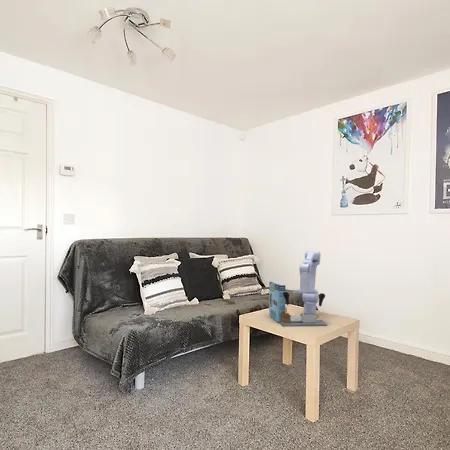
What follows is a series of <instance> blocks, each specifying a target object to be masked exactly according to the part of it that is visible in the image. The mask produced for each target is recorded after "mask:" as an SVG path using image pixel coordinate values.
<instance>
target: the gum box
mask: <svg viewBox="0 0 450 450" xmlns="http://www.w3.org/2000/svg"><path fill="white" fill-rule="evenodd" d="M286 286H287V285H286V284H282V283H280V282H277V281H269V288H268V290H269V291H268V292H269V294H268V295H269V296H268V299H269V300H268V302H269V303H268V304H269V305H268V307H269V308H268V311H269V312H268V315H269V317H270V316H271V318H272V319H273V320H274V321H276V322H277V323H278V324H280V321H281V313H284V308H286V299H285V297H284V294H283V293H284V292H286Z"/></svg>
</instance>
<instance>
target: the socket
mask: <svg viewBox="0 0 450 450" xmlns="http://www.w3.org/2000/svg"><path fill="white" fill-rule="evenodd" d="M281 322H282V323H291V314H290V313H289V312H287V315H284V313H281Z"/></svg>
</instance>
